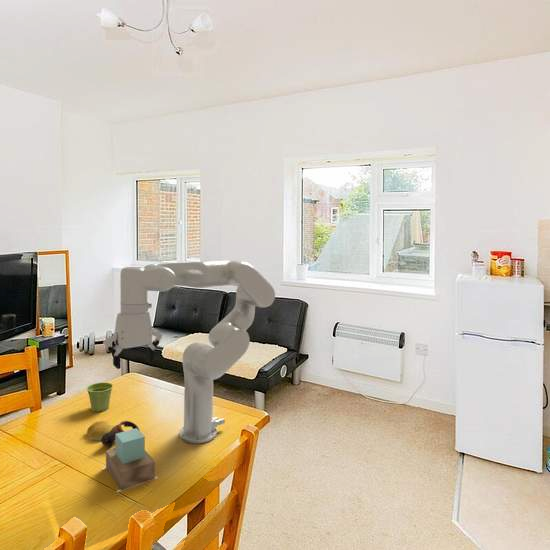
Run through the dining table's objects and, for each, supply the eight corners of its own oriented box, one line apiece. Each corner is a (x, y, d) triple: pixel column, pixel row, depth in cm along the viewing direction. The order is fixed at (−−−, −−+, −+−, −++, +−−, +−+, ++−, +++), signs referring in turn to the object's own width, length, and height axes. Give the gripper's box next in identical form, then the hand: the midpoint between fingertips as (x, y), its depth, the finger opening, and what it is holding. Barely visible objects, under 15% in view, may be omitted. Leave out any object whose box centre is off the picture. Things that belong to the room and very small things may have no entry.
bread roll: (93, 444, 132) (93, 432, 132) (84, 433, 139) (84, 422, 138) (119, 436, 137) (118, 425, 137) (109, 426, 144) (109, 415, 144)
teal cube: (136, 447, 118) (136, 428, 118) (144, 457, 114) (144, 436, 113) (115, 454, 115) (115, 433, 114) (122, 464, 110) (122, 442, 109)
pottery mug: (120, 436, 138) (132, 416, 138) (135, 456, 134) (148, 436, 133) (89, 441, 128) (102, 420, 127) (104, 464, 123) (118, 442, 123)
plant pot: (101, 415, 152) (101, 393, 151) (81, 411, 154) (80, 389, 153) (118, 406, 160) (118, 384, 160) (98, 402, 163) (98, 381, 162)
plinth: (137, 457, 123) (137, 441, 122) (154, 478, 112) (154, 461, 112) (106, 467, 117) (105, 450, 116) (121, 490, 107) (121, 472, 106)
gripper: (157, 304, 130) (156, 357, 132) (99, 309, 119) (100, 366, 121) (166, 308, 124) (166, 363, 126) (107, 313, 114) (107, 373, 115)
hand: (133, 364), depth 124 cm, fingers open, 9 cm apart
